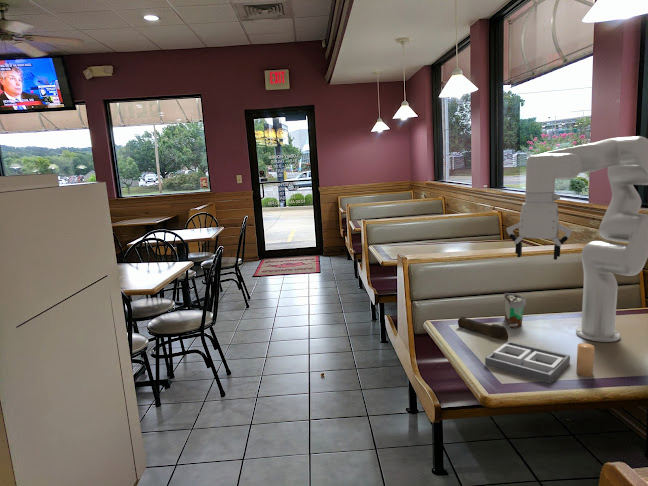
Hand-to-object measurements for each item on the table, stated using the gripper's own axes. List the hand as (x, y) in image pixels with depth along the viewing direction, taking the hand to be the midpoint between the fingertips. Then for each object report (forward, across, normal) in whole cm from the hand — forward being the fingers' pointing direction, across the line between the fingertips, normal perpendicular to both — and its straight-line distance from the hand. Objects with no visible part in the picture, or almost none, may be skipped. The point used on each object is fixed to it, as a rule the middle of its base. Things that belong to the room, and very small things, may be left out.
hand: (537, 257), depth 136 cm
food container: (+31, +10, -28) cm, 42 cm away
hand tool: (+31, +18, -14) cm, 38 cm away
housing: (+31, +1, +6) cm, 31 cm away
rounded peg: (+31, -14, +6) cm, 34 cm away
